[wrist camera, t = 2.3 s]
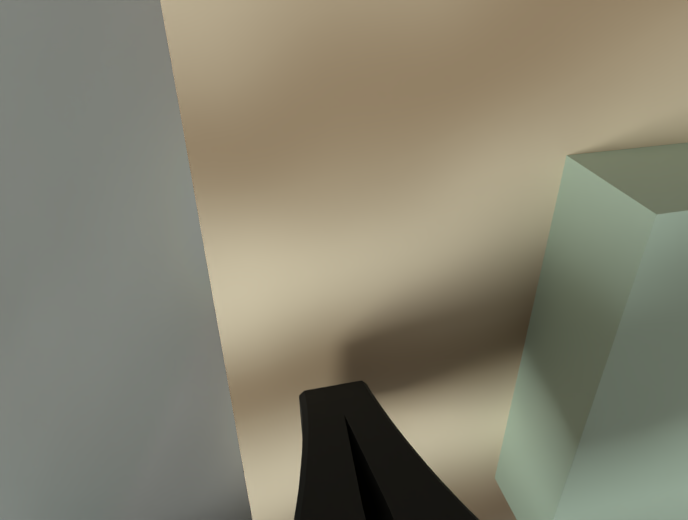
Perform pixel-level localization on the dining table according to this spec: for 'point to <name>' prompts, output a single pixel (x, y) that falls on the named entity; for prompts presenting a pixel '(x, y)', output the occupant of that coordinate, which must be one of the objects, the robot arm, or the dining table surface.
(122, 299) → the dining table surface
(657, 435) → the mint green book-shaped slab
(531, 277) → the bench board
